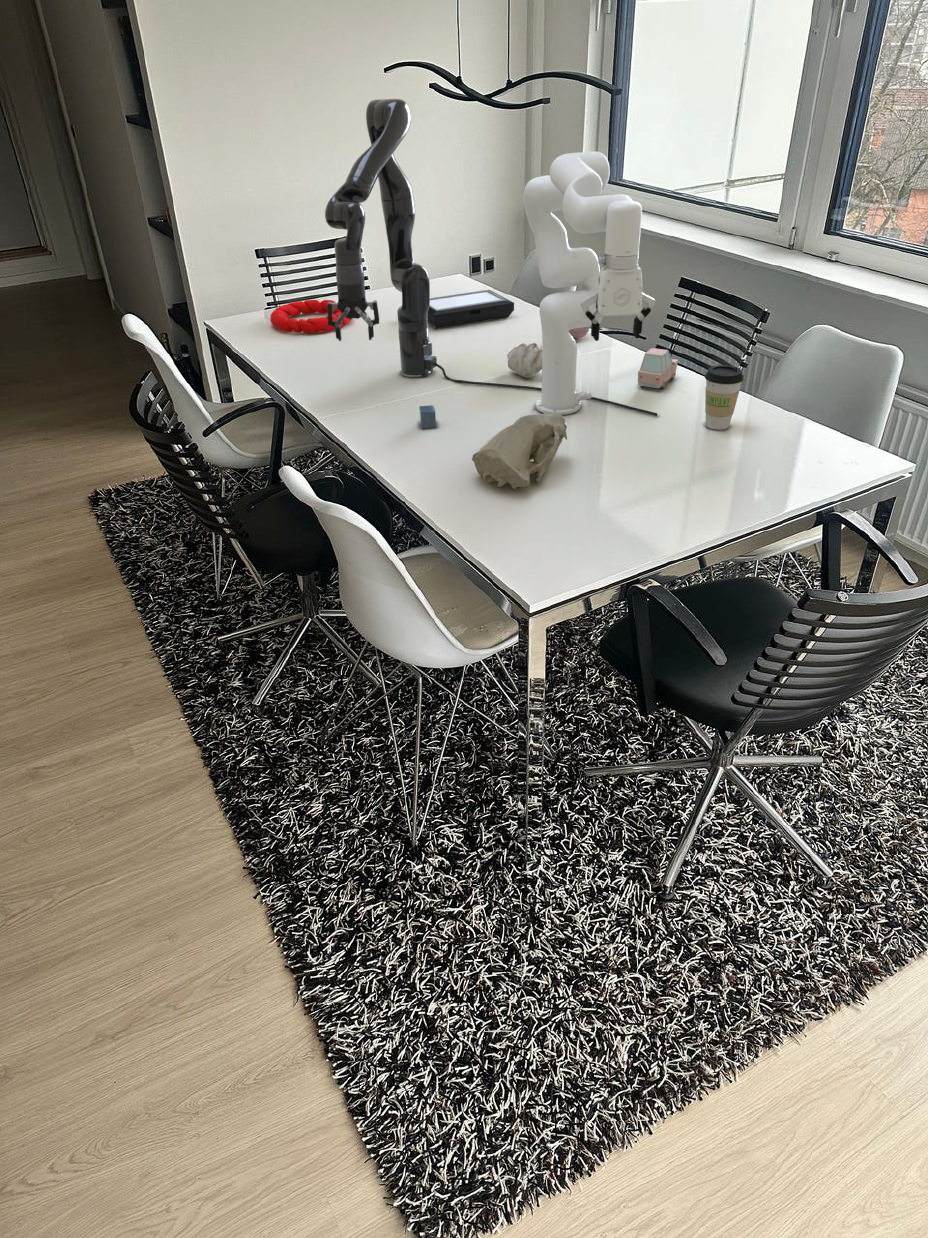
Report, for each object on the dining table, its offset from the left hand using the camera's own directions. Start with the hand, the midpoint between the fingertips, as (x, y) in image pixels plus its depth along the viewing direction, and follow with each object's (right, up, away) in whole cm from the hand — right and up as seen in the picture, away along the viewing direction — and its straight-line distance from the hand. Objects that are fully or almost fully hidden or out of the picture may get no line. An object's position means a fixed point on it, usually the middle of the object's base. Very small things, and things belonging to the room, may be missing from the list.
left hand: (355, 339), depth 252 cm
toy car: (+89, -8, +16) cm, 91 cm away
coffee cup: (+99, -27, -12) cm, 103 cm away
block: (+21, -26, -6) cm, 34 cm away
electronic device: (+31, +32, +77) cm, 89 cm away
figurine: (+69, +18, +54) cm, 89 cm away
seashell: (+51, -4, +24) cm, 56 cm away
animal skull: (+46, -43, -33) cm, 71 cm away
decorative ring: (-25, +30, +77) cm, 87 cm away
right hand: (+67, -13, -42) cm, 80 cm away
